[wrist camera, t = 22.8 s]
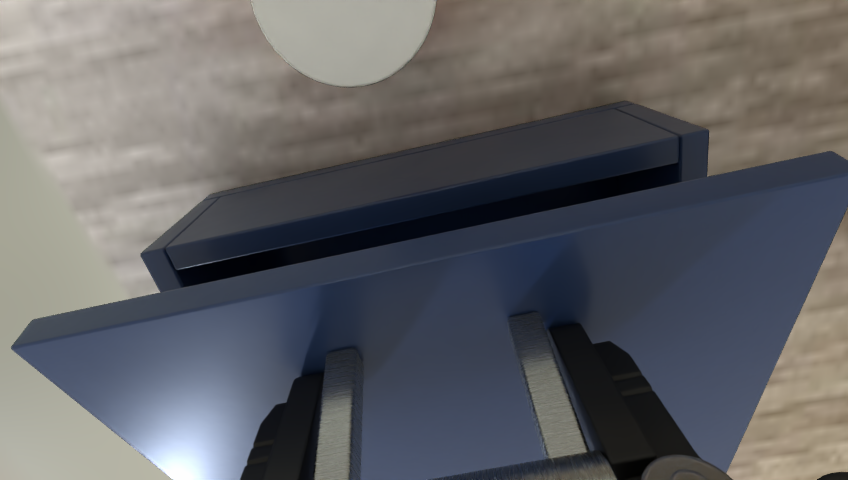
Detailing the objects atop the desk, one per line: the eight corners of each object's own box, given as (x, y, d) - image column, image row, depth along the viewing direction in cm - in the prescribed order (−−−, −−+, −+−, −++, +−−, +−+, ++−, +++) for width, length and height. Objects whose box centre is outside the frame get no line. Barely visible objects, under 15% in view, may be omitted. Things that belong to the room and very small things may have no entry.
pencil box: (208, 194, 18) (138, 253, 14) (627, 99, 17) (710, 128, 13) (327, 460, 25) (307, 564, 20) (636, 404, 24) (693, 500, 19)
